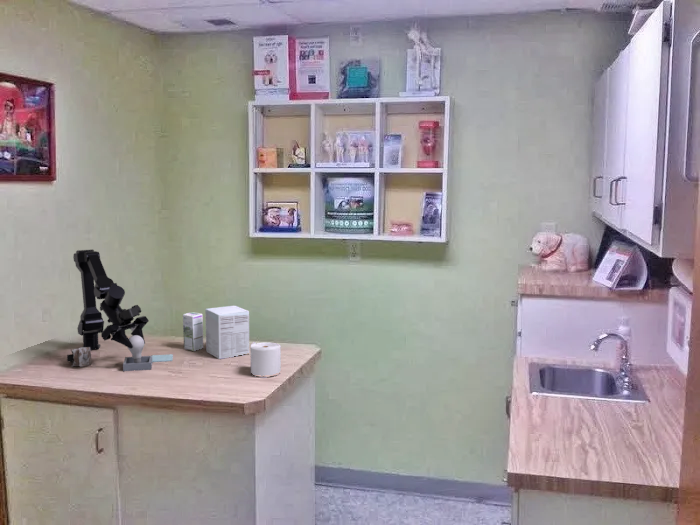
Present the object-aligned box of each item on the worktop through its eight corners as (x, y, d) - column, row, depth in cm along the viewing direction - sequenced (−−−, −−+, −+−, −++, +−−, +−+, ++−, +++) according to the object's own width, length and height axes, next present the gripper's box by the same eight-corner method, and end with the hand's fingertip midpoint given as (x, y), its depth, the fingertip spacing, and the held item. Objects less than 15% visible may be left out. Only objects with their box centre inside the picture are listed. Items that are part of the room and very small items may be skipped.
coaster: (151, 356, 260) (151, 355, 260) (172, 355, 262) (172, 354, 262) (150, 362, 253) (150, 361, 253) (172, 360, 255) (172, 359, 254)
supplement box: (250, 354, 264) (250, 310, 262) (218, 359, 257) (218, 314, 255) (236, 347, 275) (235, 305, 273) (205, 351, 268) (204, 308, 266)
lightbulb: (149, 363, 247) (146, 335, 245) (134, 368, 243) (131, 339, 240) (141, 359, 251) (138, 331, 249) (125, 364, 247) (122, 336, 244)
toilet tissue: (272, 379, 234) (272, 351, 232) (241, 375, 238) (241, 347, 237) (285, 370, 244) (285, 343, 242) (256, 367, 248) (255, 340, 247)
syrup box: (204, 348, 273) (203, 313, 271) (193, 351, 268) (192, 315, 266) (193, 346, 276) (193, 311, 274) (183, 349, 271) (182, 313, 269)
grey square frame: (125, 363, 250) (125, 357, 250) (152, 362, 253) (152, 355, 252) (123, 371, 241) (123, 364, 241) (151, 369, 243) (151, 362, 243)
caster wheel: (76, 366, 255) (100, 364, 253) (57, 368, 245) (81, 366, 242) (76, 348, 256) (99, 346, 254) (56, 349, 245) (80, 347, 243)
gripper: (106, 303, 236) (130, 338, 233) (144, 294, 253) (167, 327, 249) (90, 322, 241) (114, 357, 237) (129, 312, 257) (151, 345, 254)
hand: (138, 345), depth 244 cm, fingers closed on lightbulb, 6 cm apart
